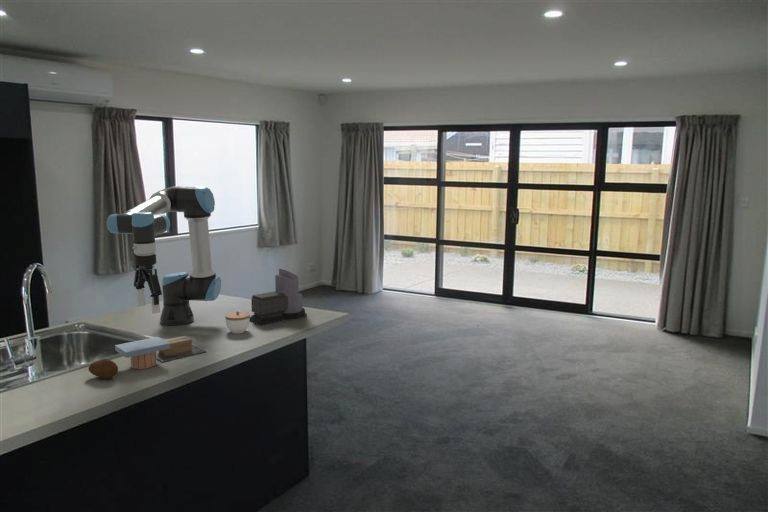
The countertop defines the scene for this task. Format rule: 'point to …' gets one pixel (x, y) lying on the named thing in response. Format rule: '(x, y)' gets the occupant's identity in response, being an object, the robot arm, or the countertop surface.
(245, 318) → the lidded jar
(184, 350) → the stand
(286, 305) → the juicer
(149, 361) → the bowl
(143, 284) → the robot arm
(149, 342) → the cover board
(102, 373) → the potato
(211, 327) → the countertop surface
